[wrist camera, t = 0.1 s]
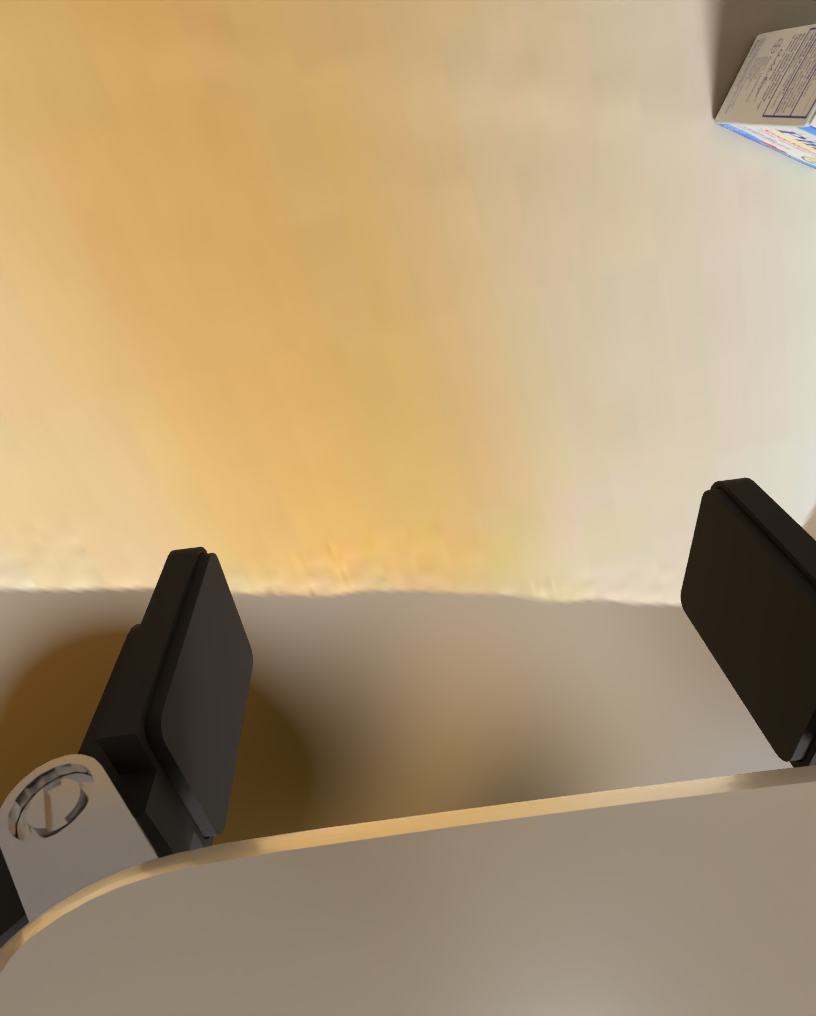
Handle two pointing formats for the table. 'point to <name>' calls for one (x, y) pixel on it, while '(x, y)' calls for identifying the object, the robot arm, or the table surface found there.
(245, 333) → the table surface
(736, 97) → the medicine box
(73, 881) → the robot arm
